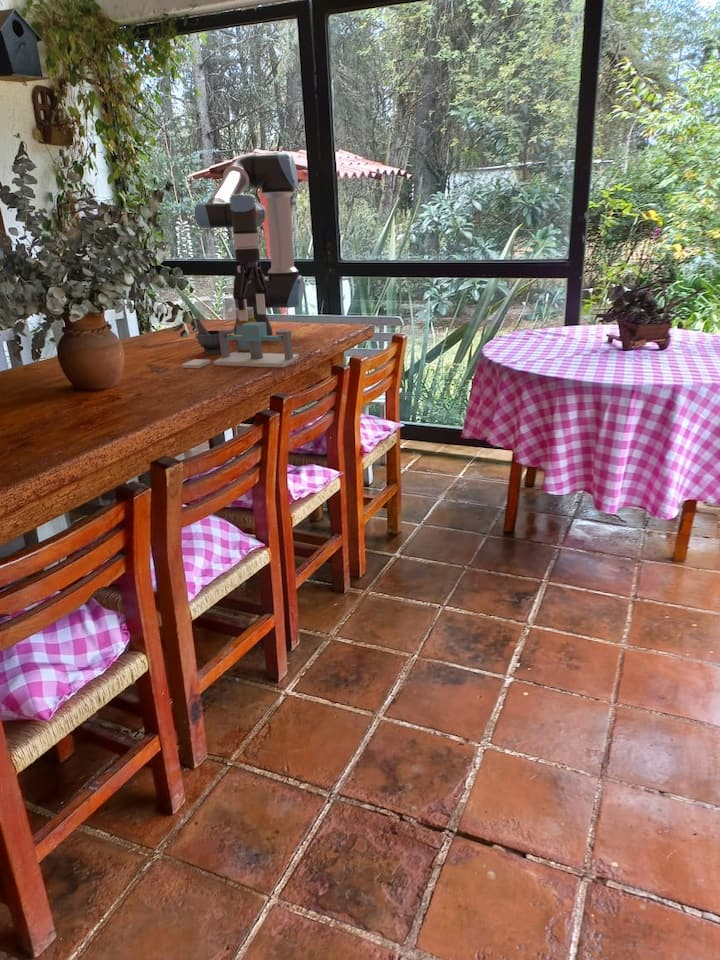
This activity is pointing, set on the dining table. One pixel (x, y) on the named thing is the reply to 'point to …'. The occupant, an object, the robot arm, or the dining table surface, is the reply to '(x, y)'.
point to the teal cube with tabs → (254, 333)
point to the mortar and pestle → (208, 339)
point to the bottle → (242, 345)
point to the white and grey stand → (256, 352)
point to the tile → (196, 363)
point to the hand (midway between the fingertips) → (252, 317)
